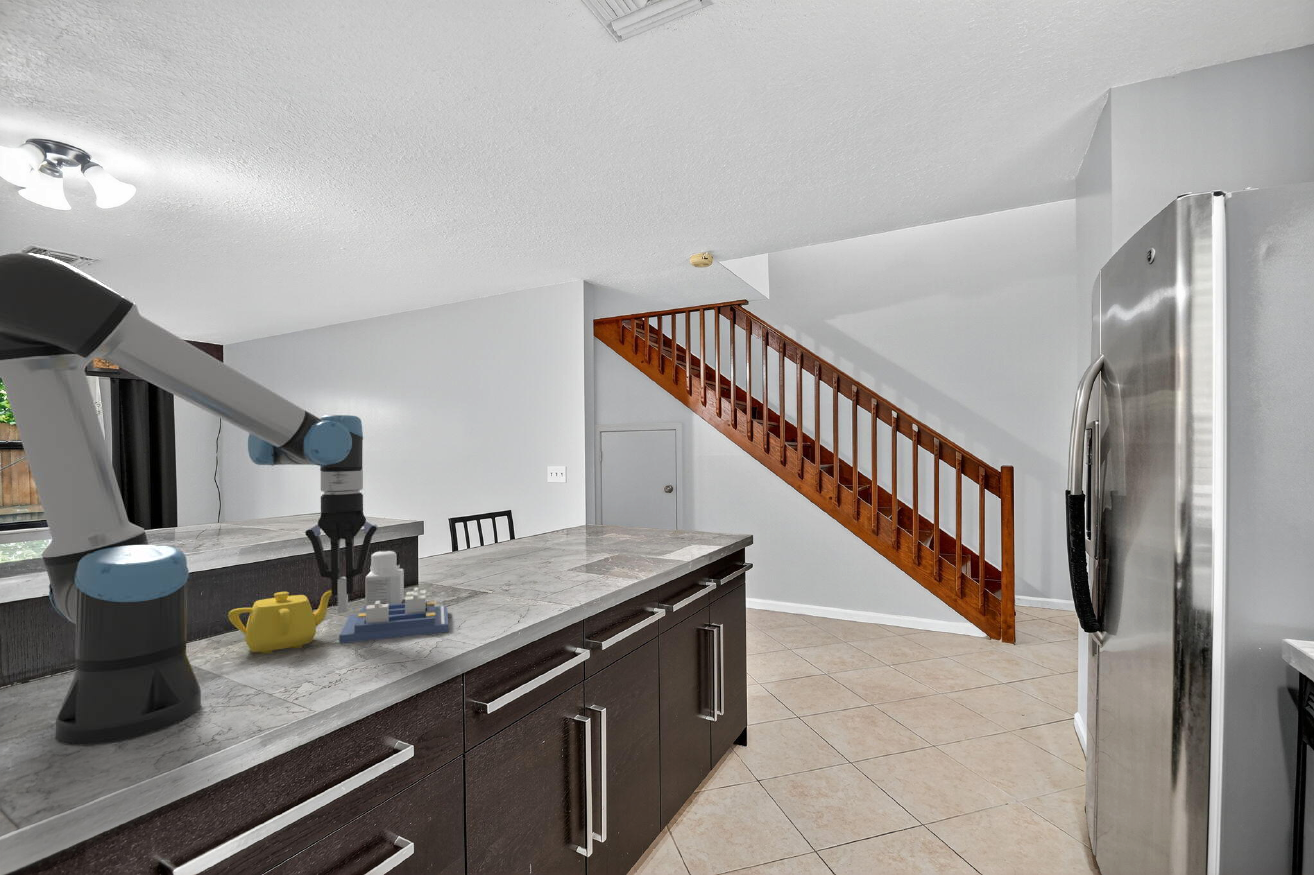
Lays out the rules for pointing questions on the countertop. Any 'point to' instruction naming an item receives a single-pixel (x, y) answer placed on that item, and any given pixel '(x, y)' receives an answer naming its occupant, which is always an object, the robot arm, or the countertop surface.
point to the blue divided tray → (396, 623)
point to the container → (384, 578)
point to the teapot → (280, 622)
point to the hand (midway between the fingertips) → (343, 610)
